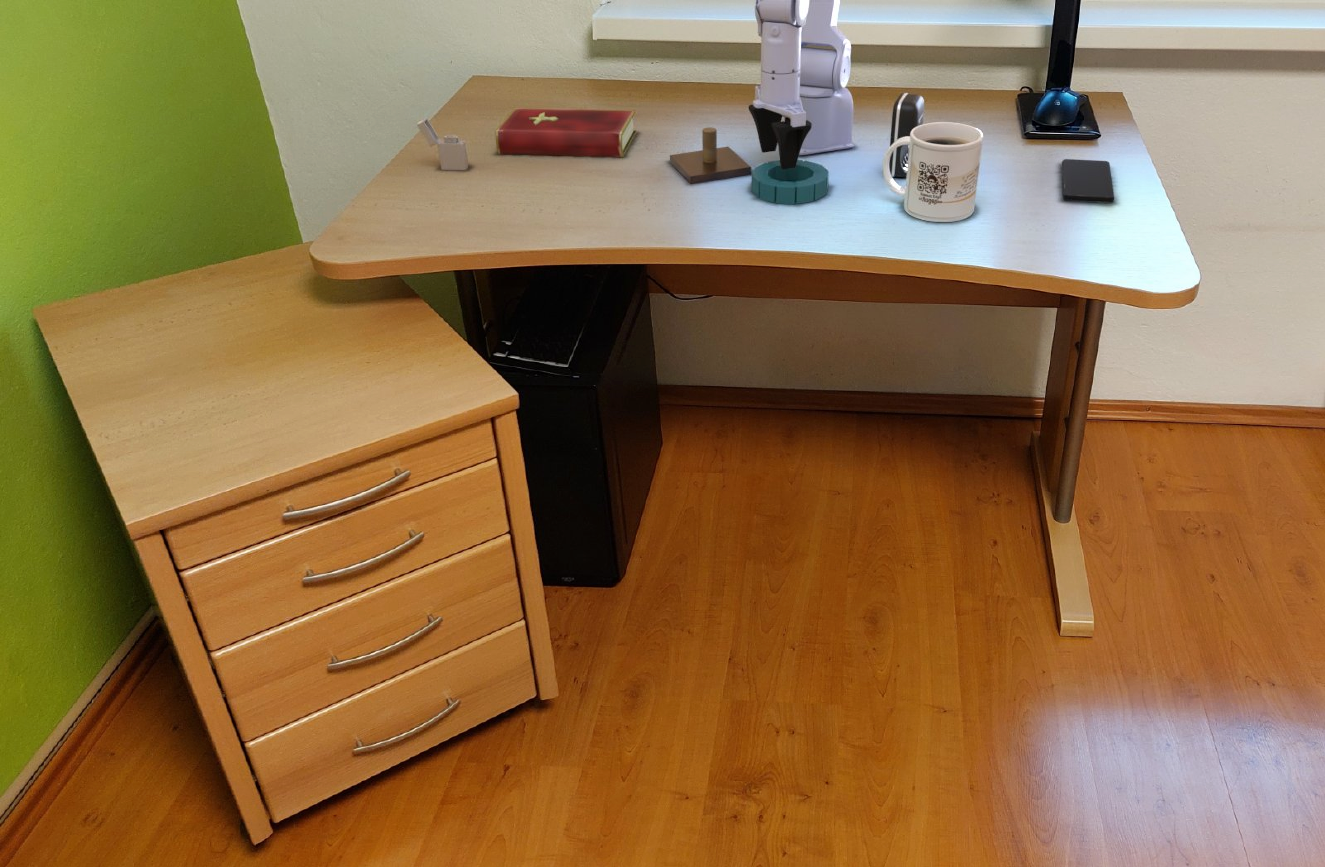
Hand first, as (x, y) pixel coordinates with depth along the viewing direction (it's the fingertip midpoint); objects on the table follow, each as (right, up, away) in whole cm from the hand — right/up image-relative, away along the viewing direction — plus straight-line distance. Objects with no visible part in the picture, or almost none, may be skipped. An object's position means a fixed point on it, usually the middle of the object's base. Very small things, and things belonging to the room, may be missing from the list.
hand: (778, 159), depth 172 cm
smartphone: (+45, -5, -4) cm, 46 cm away
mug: (+21, -9, -9) cm, 25 cm away
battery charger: (+20, -1, +3) cm, 20 cm away
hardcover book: (-33, +7, +18) cm, 39 cm away
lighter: (-52, +1, +11) cm, 54 cm away
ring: (+2, -5, -2) cm, 5 cm away
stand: (-10, 0, +7) cm, 12 cm away
